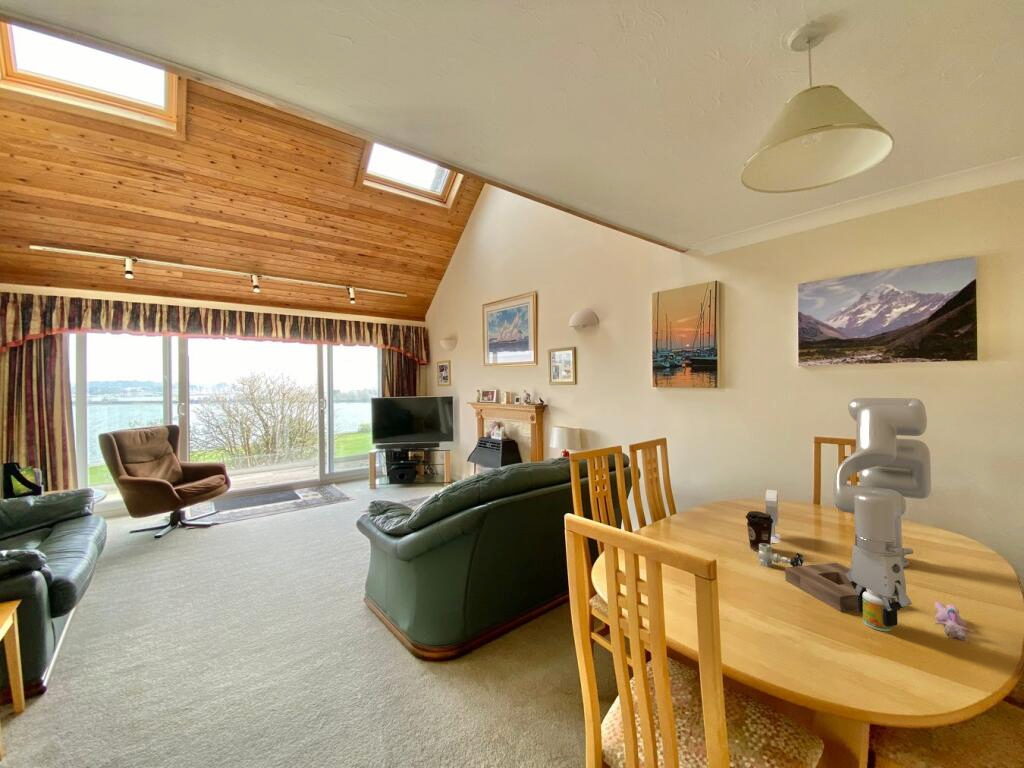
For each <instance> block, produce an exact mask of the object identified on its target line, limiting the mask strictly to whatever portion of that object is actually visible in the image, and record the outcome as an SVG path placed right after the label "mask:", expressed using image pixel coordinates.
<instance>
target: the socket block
mask: <svg viewBox="0 0 1024 768" xmlns="http://www.w3.org/2000/svg"><path fill="white" fill-rule="evenodd" d="M784 569H785V571H784V573H785V574H784V575H785V581H786V582H787V581H788V582H787V583H789V584H791V585H792V586H795V587H796V588H798V589H799V590H802V591H803V592H805V593H806V594H809V595H811V596H812V597H814V598H816V599H818V600H819V601H820V602H822V603H824V604H826V605H828V606H829V607H831V608H832V609H835V610H837V611H838V612H841V613H843V612H851V611H858V595H856V593H855V589H854V587H853V586H852V584H851V582H850V581H849V579H848V578H847V577H846V573H847V572H849V571H850V570H851V567H850V568H849V567H847V566H845V565H843V564H841V563H838V562H830V563H828V562H827V563H820V564H810V565H809V564H807V565H802V566H795V567H793V566H787V567H786V566H785V567H784ZM896 596H897V595H896ZM897 599H898V601H899V600H900V599H899V597H898V596H897ZM891 602H892V601H891Z"/></svg>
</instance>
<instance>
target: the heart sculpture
mask: <svg viewBox="0 0 1024 768" xmlns="http://www.w3.org/2000/svg"><path fill="white" fill-rule="evenodd" d="M778 501H779V499H778V490H775V489H774V490H773V489H766V492H765V513H766V514H769V515H770V516H771V518H772V520H773V523H772V530H771V531H772V532H771V543H772V542H773V543H780V544H781V540H779V539H780V535H781V534H779V533H776V526H779V517H778V516H779V502H778ZM775 533H776V534H775ZM779 541H780V542H779Z"/></svg>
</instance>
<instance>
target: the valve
mask: <svg viewBox="0 0 1024 768" xmlns="http://www.w3.org/2000/svg"><path fill="white" fill-rule="evenodd" d="M759 549H760V550H759V552H758V551H757V552H758V553H757V556H758V558H759V559H758V560H759V562H758V563H759V565H760V566H762V567H765V568H770V567H773V563H775V564H778V563H781V562H782V563H783V564H785V565H787V564H790V565H791V567H795V566H803V564H804V559H803V557H804V555H803V554H801V553H799V552H796V553H795V554H796V555H795V557H793V558H790V559H789V558H788V557H785V556H781V555H780V554H779V553H777V552H774V553H773V547H772V544H771V545H769V544H765V543H761V544H759Z"/></svg>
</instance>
